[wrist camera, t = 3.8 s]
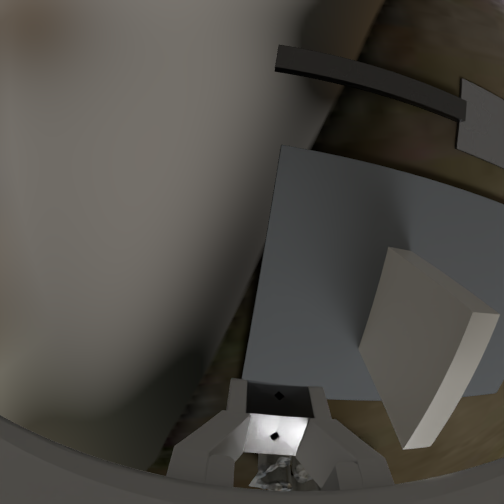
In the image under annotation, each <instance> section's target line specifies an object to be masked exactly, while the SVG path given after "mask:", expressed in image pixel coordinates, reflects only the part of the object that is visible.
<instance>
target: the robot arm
mask: <svg viewBox="0 0 504 504" xmlns="http://www.w3.org/2000/svg"><path fill="white" fill-rule="evenodd" d="M243 452H249V453H265V454H278V455H291V456H295V457H296V459H297V460H298V461H299V462H300V464H301V465H302V466H303V467H304V469H305V470H306V471H307V472H308V473H309V475H310V476H311V477H312V478H313V480H314V481H315V482H316V483H317V484H318V486H319V487H320V488H321V490H320V491H277V490H259V489H246V488H236V487H233V479H234V462H235V461H236V460H237V459H238V458H239V457H240V456H241V455H242V453H243ZM0 504H504V457H503V458H501V459H498V460H495V461H492V462H489V463H486V464H483V465H479V466H476V467H473V468H469V469H466V470H462V471H458V472H454V473H451V474H446V475H442V476H438V477H433V478H429V479H424V480H418V481H413V482H407V483H401V484H394V482H393V479H392V476H391V473H390V470H389V468H388V465H387V462H386V459H385V458H384V457H383V456H382V455H380V454H379V453H378V452H376V451H375V450H374V449H373V448H371V447H370V446H369V445H367V444H366V443H365V442H364V441H362V440H361V439H360V438H359V437H357V436H356V435H355V434H354V433H352V432H351V431H350V430H349V429H347V428H346V427H345V426H344V425H342V424H341V423H340V422H339V421H338V420H336V419H332V418H331V414H330V410H329V407H328V403H327V399H326V396H325V392H324V388H323V387H320V386H294V385H282V384H274V383H266V382H259V381H251V380H243V379H236V378H231V382H230V389H229V395H228V402H227V409H226V411H224V410H222V411H221V412H220V413H218V414H217V415H216V416H215V417H213V418H212V419H211V420H209V421H208V422H207V423H205V424H204V425H203V426H201V427H200V428H199V429H197V430H196V431H195V432H193V433H192V434H191V435H189V436H188V437H187V438H185V439H184V440H182V441H181V442H180V443H178V444H177V445H175V446H174V450H173V453H172V457H171V460H170V464H169V468H168V471H167V475H166V476H162V475H157V474H153V473H149V472H145V471H141V470H137V469H133V468H130V467H126V466H123V465H119V464H116V463H113V462H109V461H106V460H103V459H100V458H97V457H94V456H91V455H88V454H85V453H83V452H80V451H77V450H74V449H72V448H69V447H67V446H64V445H62V444H59V443H57V442H55V441H52V440H50V439H47V438H45V437H43V436H41V435H38V434H36V433H34V432H32V431H30V430H28V429H26V428H24V427H22V426H20V425H18V424H16V423H14V422H12V421H10V420H8V419H6V418H4V417H2V416H1V415H0Z"/></svg>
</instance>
